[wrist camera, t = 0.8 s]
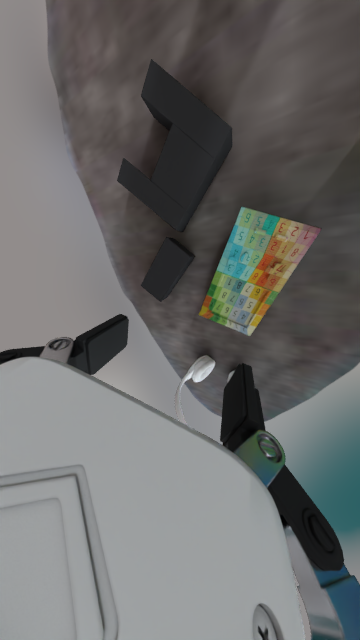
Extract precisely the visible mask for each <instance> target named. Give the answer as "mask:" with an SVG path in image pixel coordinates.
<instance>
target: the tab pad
mask: <svg viewBox="0 0 360 640" xmlns="http://www.w3.org/2000/svg"><path fill="white" fill-rule="evenodd" d="M194 257H195V256H194V255H193V254H192V253H191V252H189V251H188V250H187V249H186V248H185V247H183V246H182V245H181V244H180V243H179V242H177V241H176V240H175V239H174V238H169V237H166V239H165V241H164V242H163V244H162V246H161V248H160V250H159V252H158V254H157V256H156V258H155V260H154V261H153V263H152V265H151V267H150V269H149V271H148V273H147V275H146V277H145V279H144V281H143V282H142V284H141V286H142V287H143V288H144V289H146V290H147V291H148V292H149V293H150V294H152V295H153V296H154V297H155V298H156V299H158V300H159V301H160V302H161V301H162V300H164V299H165V298H167V297H168V295H169V294H170V292H171V291H172V289H173V288H174V287H175V285H176V284H177V282H178V281H179V279H180V278H181V276H182V275H183V273H184V272H185V271H186V269H187V268H188V266H189V265H190V263H191V262H192V260H193V259H194Z"/></svg>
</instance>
